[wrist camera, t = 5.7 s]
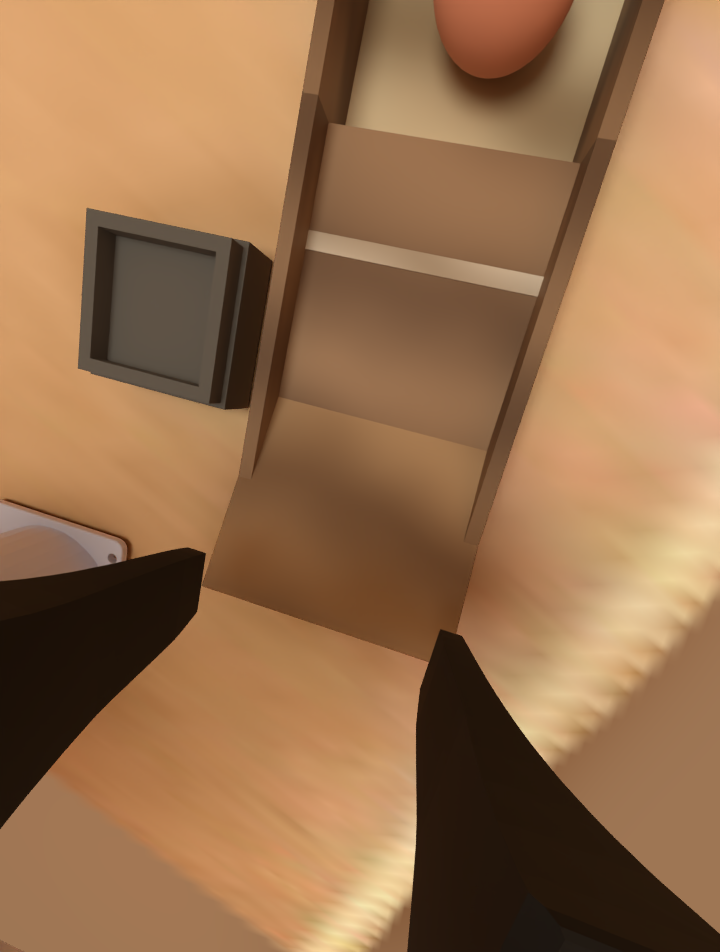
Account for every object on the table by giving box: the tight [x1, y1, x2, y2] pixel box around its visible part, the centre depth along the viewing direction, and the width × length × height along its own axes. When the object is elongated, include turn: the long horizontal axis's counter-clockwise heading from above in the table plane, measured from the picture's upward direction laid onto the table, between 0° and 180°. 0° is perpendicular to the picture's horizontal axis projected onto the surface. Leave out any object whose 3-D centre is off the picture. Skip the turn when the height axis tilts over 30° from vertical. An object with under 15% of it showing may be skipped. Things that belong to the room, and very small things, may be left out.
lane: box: [202, 0, 664, 662], centre depth 13 cm, size 23×9×4 cm, turn 166°
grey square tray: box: [78, 208, 272, 410], centre depth 15 cm, size 6×6×3 cm
